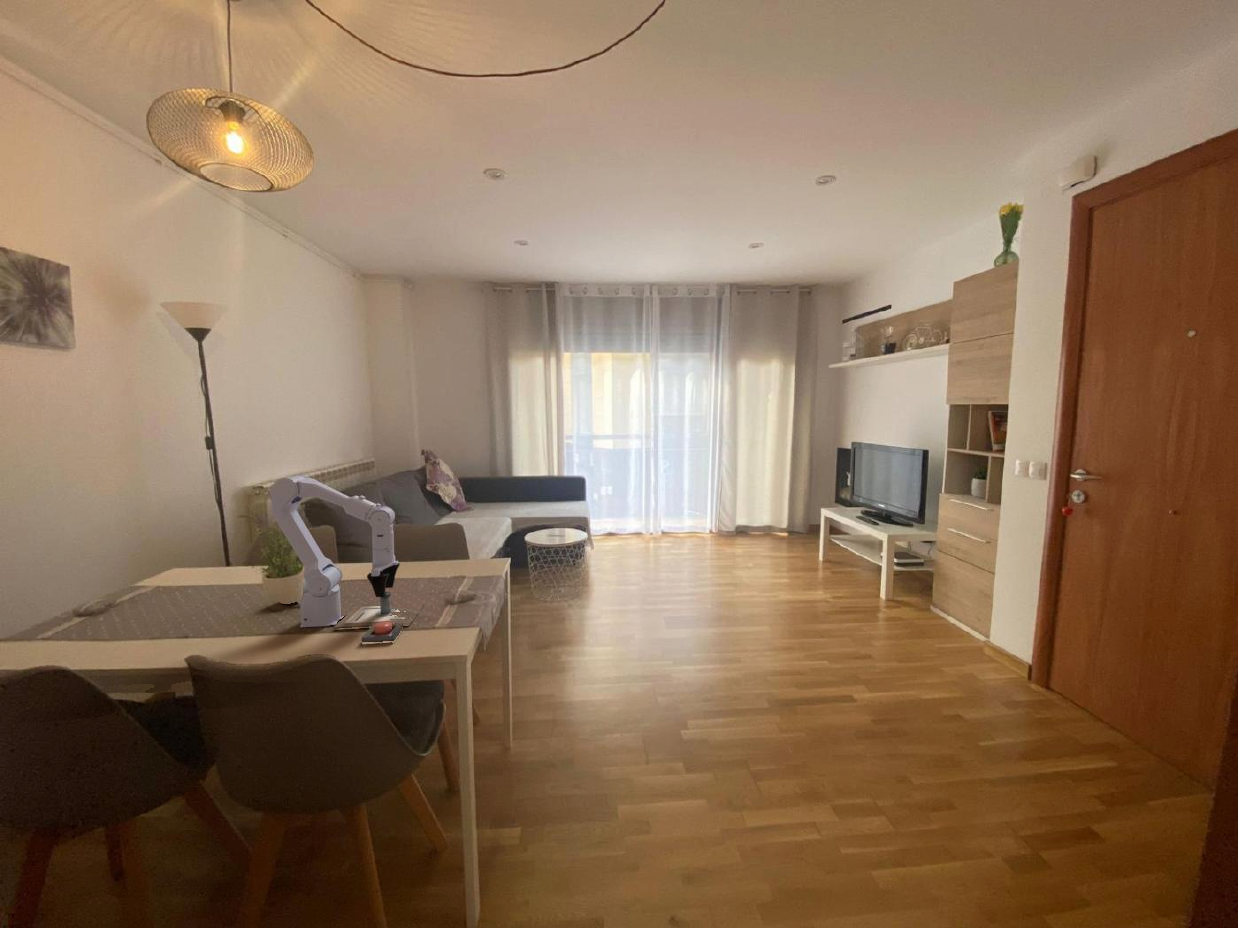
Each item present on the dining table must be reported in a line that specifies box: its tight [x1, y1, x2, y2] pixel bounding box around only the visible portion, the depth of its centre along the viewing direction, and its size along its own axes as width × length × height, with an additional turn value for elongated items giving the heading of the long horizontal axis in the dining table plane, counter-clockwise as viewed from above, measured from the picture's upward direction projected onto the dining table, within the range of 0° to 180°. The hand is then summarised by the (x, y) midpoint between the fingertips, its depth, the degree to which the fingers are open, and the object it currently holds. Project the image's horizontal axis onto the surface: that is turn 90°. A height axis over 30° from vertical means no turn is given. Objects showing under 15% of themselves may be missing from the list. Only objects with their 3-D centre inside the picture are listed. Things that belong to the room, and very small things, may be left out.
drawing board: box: [333, 604, 406, 630], centre depth 138 cm, size 20×16×1 cm
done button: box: [374, 621, 392, 635], centre depth 125 cm, size 4×4×2 cm
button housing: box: [361, 623, 404, 643], centre depth 125 cm, size 8×8×2 cm
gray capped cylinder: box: [379, 591, 392, 615], centre depth 138 cm, size 3×3×6 cm
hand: (384, 591), depth 138 cm, fingers open, 7 cm apart
